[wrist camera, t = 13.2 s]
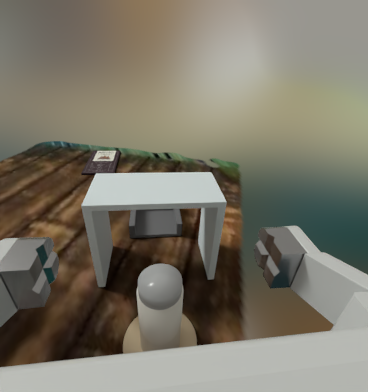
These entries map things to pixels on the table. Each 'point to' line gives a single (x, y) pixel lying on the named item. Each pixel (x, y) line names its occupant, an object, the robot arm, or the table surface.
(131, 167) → the table surface
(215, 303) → the table surface
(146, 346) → the shaker
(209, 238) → the tunnel
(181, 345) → the coaster
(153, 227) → the tray
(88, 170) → the chocolate bar
